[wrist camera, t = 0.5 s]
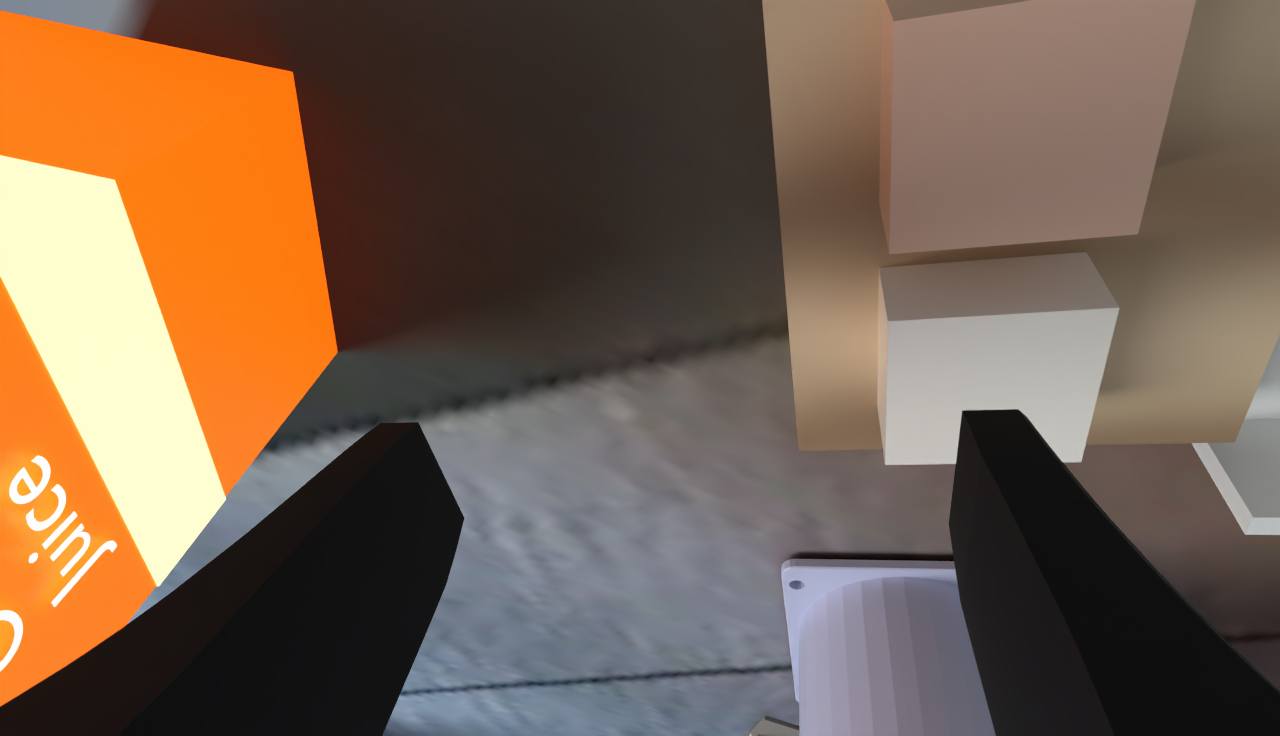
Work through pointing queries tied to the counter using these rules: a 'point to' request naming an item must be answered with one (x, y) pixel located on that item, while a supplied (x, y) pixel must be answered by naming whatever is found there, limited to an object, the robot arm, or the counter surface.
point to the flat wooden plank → (1129, 265)
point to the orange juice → (138, 317)
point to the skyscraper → (773, 728)
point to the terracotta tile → (1022, 117)
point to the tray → (1252, 459)
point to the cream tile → (990, 350)
